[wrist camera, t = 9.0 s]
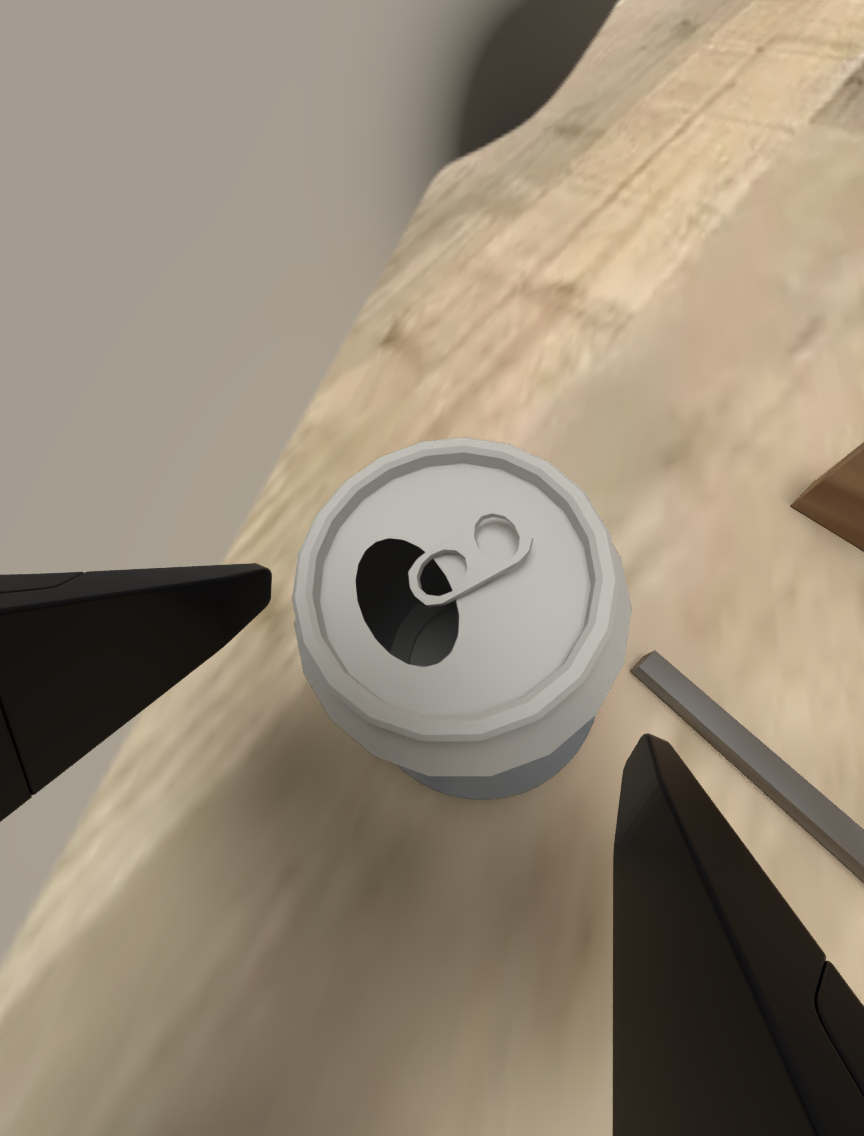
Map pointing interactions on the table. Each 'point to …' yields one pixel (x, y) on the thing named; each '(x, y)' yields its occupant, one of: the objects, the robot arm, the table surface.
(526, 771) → the coaster
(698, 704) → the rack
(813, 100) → the table surface
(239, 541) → the table surface
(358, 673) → the can
